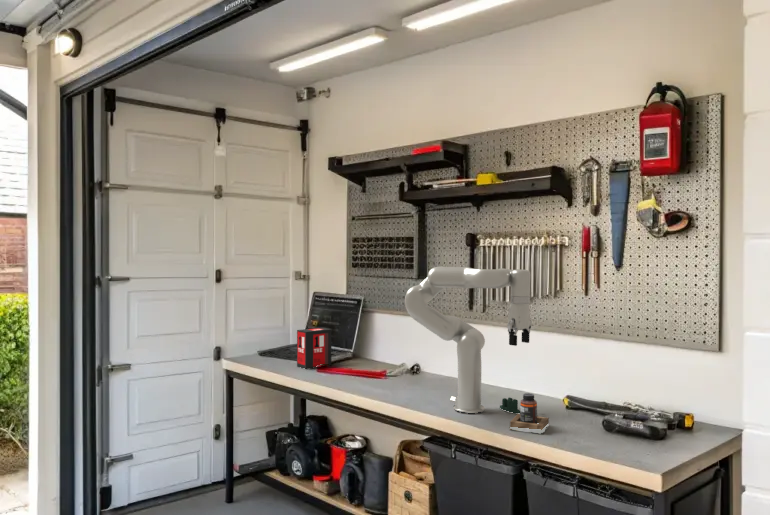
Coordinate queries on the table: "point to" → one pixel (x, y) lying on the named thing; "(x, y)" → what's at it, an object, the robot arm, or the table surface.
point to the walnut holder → (517, 423)
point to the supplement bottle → (528, 408)
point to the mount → (510, 405)
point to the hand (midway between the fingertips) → (519, 343)
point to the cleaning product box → (313, 347)
